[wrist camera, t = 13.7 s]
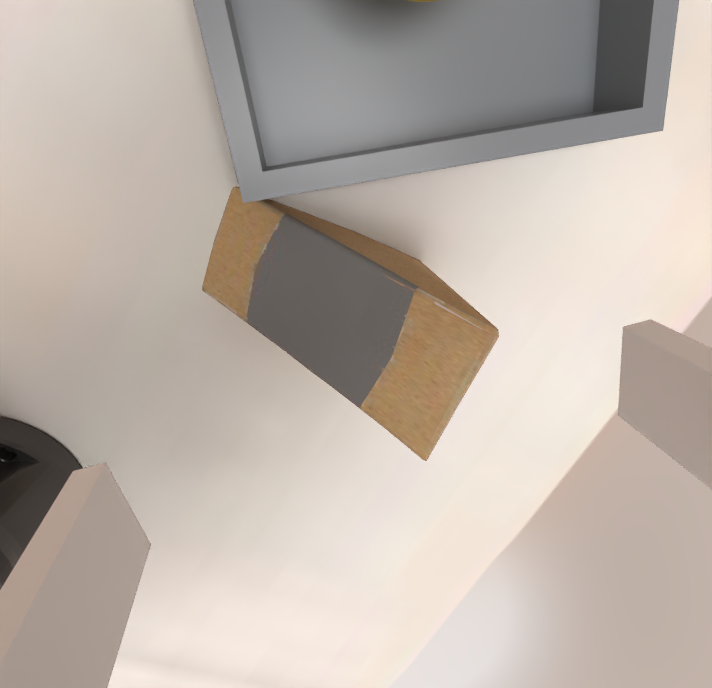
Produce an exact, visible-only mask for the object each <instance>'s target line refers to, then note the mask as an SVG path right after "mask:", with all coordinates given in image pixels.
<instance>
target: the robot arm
mask: <svg viewBox="0 0 712 688" xmlns="http://www.w3.org/2000/svg"><path fill="white" fill-rule="evenodd" d="M618 416H619V417H621V418H622V419H623V420H624V421H626V422H627V423H628V424H630V425H631V426H632V427H633V428H635V429H636V430H637V431H639V432H640V433H641V434H642V435H643V436H645V437H646V438H647V439H649V440H650V441H651V442H652V443H654V444H655V445H656V446H657V447H659V448H660V449H661V450H662V451H664V452H665V453H666V454H668V455H669V456H670V457H672V458H673V459H674V460H675V461H676V462H678V463H679V464H680V465H681V466H683V467H684V468H685V469H686V470H688V471H689V472H690V473H691V474H693V475H694V476H695V477H697V478H698V479H699V480H701V481H702V482H703V483H704V484H705V485H707V486H708V487H709V488H710V489H712V348H711V347H709V346H706V345H704V344H702V343H700V342H698V341H696V340H693V339H691V338H689V337H687V336H685V335H683V334H681V333H679V332H676V331H674V330H672V329H670V328H668V327H666V326H664V325H662V324H659V323H657V322H655V321H653V320H647V321H643V322H640V323H636V324H632V325H628V326H624V327H623V337H622V354H621V372H620V389H619V407H618ZM150 546H151V544H150V542H149V540H148V538H147V536H146V535H145V533H144V531H143V529H142V527H141V525H140V524H139V522H138V520H137V518H136V516H135V515H134V513H133V511H132V509H131V507H130V505H129V504H128V502H127V500H126V498H125V496H124V495H123V493H122V491H121V489H120V487H119V486H118V484H117V482H116V480H115V478H114V476H113V475H112V473H111V471H110V469H109V467H108V466H107V464H106V462H105V463H102V464H98V465H94V466H90V467H86V468H83V469H82V468H81V467H80V465H79V464H78V462H77V461H76V460H75V458H74V457H73V456H72V455H71V454H70V453H69V452H68V451H67V450H66V449H65V448H64V447H63V446H62V445H60V444H59V443H58V442H57V441H55V440H54V439H52V438H51V437H49V436H48V435H46V434H44V433H43V432H41V431H39V430H37V429H35V428H33V427H30V426H28V425H26V424H23V423H20V422H17V421H14V420H10V419H6V418H2V417H0V688H107V687H108V683H109V680H110V677H111V673H112V670H113V667H114V664H115V660H116V657H117V654H118V650H119V647H120V644H121V641H122V637H123V634H124V631H125V628H126V624H127V621H128V618H129V614H130V611H131V608H132V605H133V601H134V598H135V595H136V591H137V588H138V585H139V582H140V578H141V575H142V572H143V568H144V565H145V562H146V559H147V555H148V552H149V549H150Z"/></svg>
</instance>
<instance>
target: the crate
mask: <svg viewBox="0 0 712 688" xmlns="http://www.w3.org/2000/svg"><path fill="white" fill-rule="evenodd" d="M193 2H194V6H195V10H196V14H197V18H198V22H199V26H200V30H201V34H202V38H203V42H204V46H205V50H206V54H207V58H208V63H209V67H210V71H211V75H212V79H213V83H214V87H215V91H216V95H217V99H218V103H219V107H220V111H221V115H222V119H223V123H224V127H225V132H226V136H227V140H228V144H229V148H230V152H231V156H232V160H233V164H234V168H235V172H236V176H237V180H238V184H239V188H240V192H241V196H242V200H243V203H247V202H253V201H259V200H264V199H270V198H276V197H282V196H287V195H293V194H299V193H305V192H311V191H316V190H322V189H328V188H334V187H340V186H345V185H351V184H357V183H363V182H368V181H374V180H380V179H386V178H392V177H397V176H403V175H409V174H415V173H421V172H426V171H432V170H438V169H444V168H449V167H455V166H461V165H467V164H473V163H478V162H484V161H490V160H496V159H502V158H507V157H513V156H519V155H525V154H530V153H536V152H542V151H548V150H554V149H559V148H565V147H571V146H577V145H583V144H588V143H594V142H600V141H606V140H611V139H617V138H623V137H629V136H635V135H640V134H646V133H652V132H658V131H663V126H664V118H665V110H666V102H667V94H668V86H669V78H670V70H671V62H672V54H673V46H674V37H675V29H676V21H677V13H678V5H679V0H438V1H430V2H415V1H408V0H193Z"/></svg>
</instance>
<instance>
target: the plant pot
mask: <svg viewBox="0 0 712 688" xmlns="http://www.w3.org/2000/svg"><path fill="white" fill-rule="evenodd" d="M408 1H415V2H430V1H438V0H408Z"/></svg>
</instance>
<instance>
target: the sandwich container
mask: <svg viewBox="0 0 712 688" xmlns="http://www.w3.org/2000/svg"><path fill="white" fill-rule="evenodd" d="M202 290H203V291H204V292H205V293H207V294H208V295H210V296H211V297H213V298H214V299H215V300H217V301H218V302H219V303H221V304H222V305H223V306H225V307H226V308H228V309H229V310H230V311H232V312H233V313H234V314H236V315H237V316H239V317H240V318H241V319H243V320H244V321H245V322H247V323H248V324H249V325H251V326H252V327H254V328H255V329H256V330H258V331H259V332H260V333H262V334H263V335H264V336H266V337H267V338H268V339H270V340H271V341H272V342H274V343H275V344H276V345H278V346H279V347H280V348H282V349H283V350H284V351H286V352H287V353H288V354H290V355H291V356H292V357H293V358H295V359H296V360H297V361H298V362H300V363H301V364H302V365H304V366H305V367H306V368H307V369H309V370H310V371H311V372H313V373H314V374H315V375H317V376H318V377H320V378H321V379H322V380H324V381H325V382H326V383H328V384H329V385H330V386H332V387H333V388H334V389H335V390H337V391H338V392H339V393H341V394H342V395H343V396H344V397H346V398H347V399H348V400H350V401H351V402H352V403H354V404H355V405H356V406H357V407H359V408H360V409H361V410H363V411H364V412H365V413H366V414H368V415H369V416H370V417H371V418H373V419H374V420H375V421H377V422H378V423H379V424H380V425H382V426H383V427H384V428H385V429H387V430H388V431H389V432H390V433H391V434H393V435H394V436H395V437H396V438H397V439H399V440H400V441H401V442H402V443H404V444H405V445H406V446H407V447H408V448H410V449H411V450H412V451H413V452H414V453H416V454H417V455H418V456H419V457H420V458H422V459H423V460H425V461H427V459H428V457H429V456H430V454H431V452H432V450H433V449H434V447H435V445H436V443H437V442H438V440H439V438H440V436H441V435H442V433H443V431H444V429H445V428H446V426H447V424H448V422H449V421H450V419H451V417H452V415H453V414H454V412H455V410H456V408H457V407H458V405H459V403H460V401H461V400H462V398H463V396H464V395H465V393H466V391H467V390H468V388H469V386H470V384H471V383H472V381H473V379H474V378H475V376H476V374H477V373H478V371H479V369H480V368H481V366H482V364H483V363H484V361H485V359H486V358H487V356H488V354H489V353H490V351H491V349H492V347H493V346H494V344H495V342H496V341H497V339H498V337H499V333H498V329H497V328H496V327H495V326H494V325H492V324H491V323H490V322H489V321H488V320H487V319H486V318H485V317H483V316H482V315H481V314H480V313H479V312H478V311H477V310H475V309H474V308H473V307H472V306H471V305H470V304H469V303H467V302H466V301H465V300H464V299H463V298H462V297H461V296H459V295H458V294H457V293H456V292H455V291H454V290H453V289H452V288H450V287H449V286H448V285H447V284H446V283H445V282H444V281H442V280H441V279H440V278H439V277H438V276H437V275H436V274H434V273H433V272H432V271H431V270H430V269H429V268H428V267H426V266H425V265H424V264H423V263H422V262H421V261H420V260H417V259H415V258H413V257H411V256H408V255H406V254H404V253H402V252H399V251H397V250H395V249H393V248H390V247H388V246H386V245H383V244H381V243H379V242H377V241H374V240H372V239H370V238H368V237H365V236H363V235H361V234H359V233H356V232H354V231H352V230H349V229H346V228H344V227H341V226H338V225H336V224H333V223H330V222H328V221H325V220H322V219H320V218H317V217H315V216H312V215H309V214H307V213H304V212H301V211H299V210H296V209H293V208H291V207H288V206H286V205H283V204H280V203H278V202H275V201H272V200H270V199H264V200H259V201H253V202H247V203H243V200H242V196H241V192H240V188H238V187H233V189H232V191H231V194H230V196H229V199H228V202H227V205H226V208H225V211H224V214H223V217H222V220H221V222H220V225H219V228H218V231H217V234H216V237H215V240H214V244H213V248H212V251H211V255H210V259H209V263H208V267H207V271H206V275H205V278H204V282H203V286H202Z"/></svg>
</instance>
